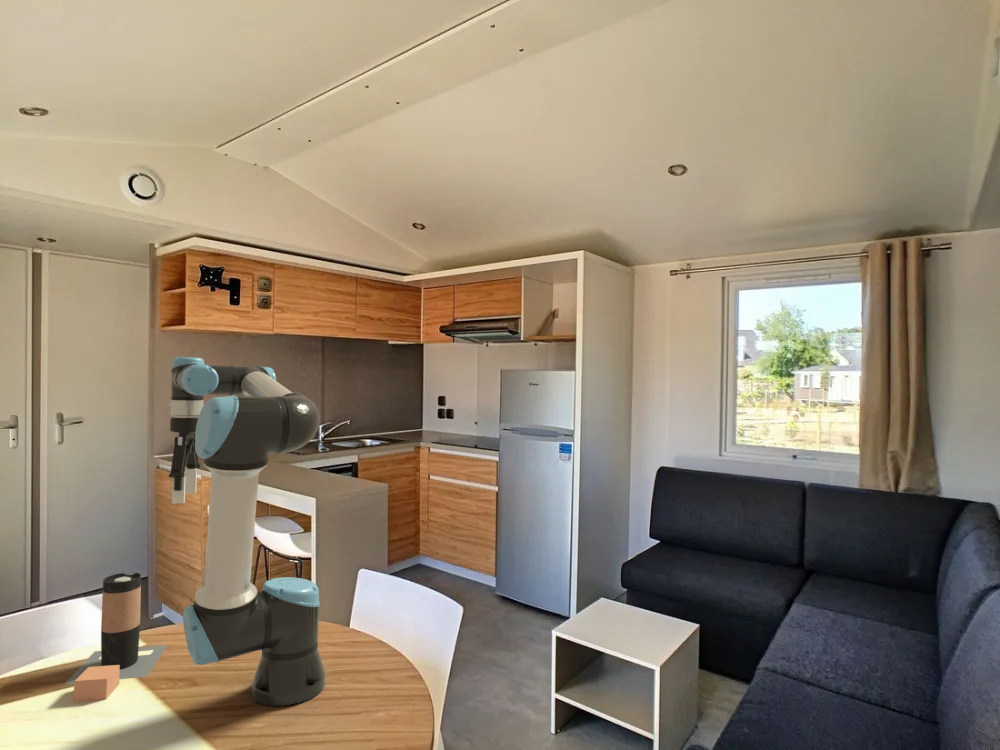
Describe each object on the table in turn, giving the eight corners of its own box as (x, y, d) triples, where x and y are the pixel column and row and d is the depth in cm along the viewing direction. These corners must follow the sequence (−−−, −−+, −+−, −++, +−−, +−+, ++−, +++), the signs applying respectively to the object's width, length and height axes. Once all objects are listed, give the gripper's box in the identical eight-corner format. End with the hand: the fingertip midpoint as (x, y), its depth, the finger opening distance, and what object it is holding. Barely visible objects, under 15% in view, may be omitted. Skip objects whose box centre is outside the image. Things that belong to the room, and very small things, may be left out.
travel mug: (107, 674, 130) (110, 585, 131) (94, 664, 135) (97, 577, 135) (144, 662, 136) (147, 576, 137) (131, 652, 141) (133, 569, 141)
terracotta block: (106, 702, 120) (106, 678, 121) (73, 705, 119) (74, 681, 119) (118, 687, 126) (119, 664, 126) (88, 690, 125) (88, 666, 125)
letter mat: (146, 679, 130) (147, 676, 130) (63, 687, 126) (64, 684, 126) (167, 647, 145) (167, 644, 145) (94, 653, 141) (94, 651, 141)
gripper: (182, 413, 163) (180, 489, 162) (157, 419, 139) (154, 508, 138) (211, 413, 165) (209, 488, 164) (192, 419, 141) (189, 507, 141)
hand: (184, 498), depth 151 cm, fingers open, 13 cm apart
